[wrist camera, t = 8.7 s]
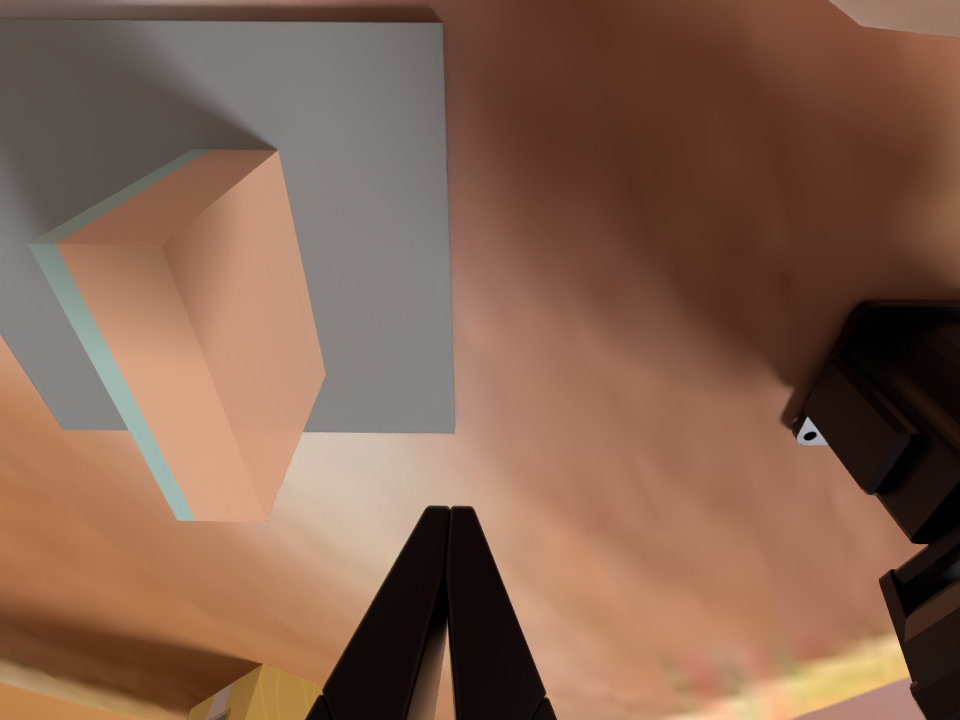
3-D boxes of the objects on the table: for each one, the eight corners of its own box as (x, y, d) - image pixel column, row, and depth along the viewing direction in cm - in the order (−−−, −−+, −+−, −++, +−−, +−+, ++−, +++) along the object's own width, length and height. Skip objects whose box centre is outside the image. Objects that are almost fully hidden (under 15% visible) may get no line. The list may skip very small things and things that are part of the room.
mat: (442, 22, 13) (441, 23, 13) (455, 426, 21) (454, 433, 21) (-189, 17, 13) (-206, 18, 13) (69, 422, 21) (62, 429, 21)
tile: (278, 150, 14) (161, 245, 9) (325, 374, 19) (266, 521, 14) (192, 148, 15) (27, 244, 9) (261, 373, 19) (178, 520, 14)
